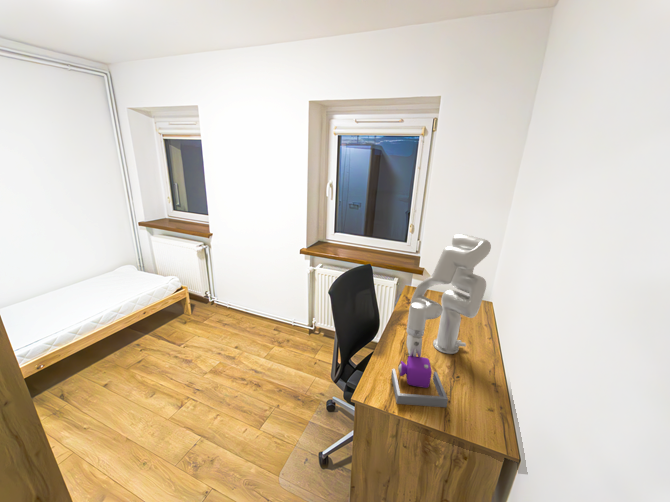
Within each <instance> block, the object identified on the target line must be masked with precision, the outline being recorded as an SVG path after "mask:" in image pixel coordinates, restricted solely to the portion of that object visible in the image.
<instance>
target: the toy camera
mask: <svg viewBox="0 0 670 502" xmlns="http://www.w3.org/2000/svg"><path fill="white" fill-rule="evenodd" d="M408 356H409V355H408ZM408 356H407V357H408ZM397 370H398V373H399V376H400V377H403V376H406V383H407V385H409V386H413V387H418V388H419V387H420V388H425V389H428V388H429V387H430V383H431V378H432V367H431V362H430V360H429V358H427V357H422V356H421V357H418V355H416V357H413V356H409V357H408V359H407V358H406V363H405V362H404V361H402V360H401V361H400V364H399V365H398V369H397Z"/></svg>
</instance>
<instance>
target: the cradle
mask: <svg viewBox="0 0 670 502" xmlns="http://www.w3.org/2000/svg"><path fill="white" fill-rule="evenodd" d="M432 374H433V376H432V381H433V384H434V386H435V389H436V392H437V394H438V395H427V394H426V395H425V394H415V393H414V394H413V393H403V392H401V391H400V390H401V389H400V386H399V381H398V377H397V372H396V369H395V368H392V369H391V382H392V386H393V393H394V397H395V402H396V404H397V405H411V406H422V407H423V406H424V407H436V408H437V407H438V408H447V407H448V406H447V405H448V400H449V398H448V395H447V393H446V391H445V389H444V386H443V384H442V381H441V379H440V377H439V375H438V372H437V371H433V373H432Z"/></svg>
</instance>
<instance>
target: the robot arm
mask: <svg viewBox="0 0 670 502" xmlns="http://www.w3.org/2000/svg"><path fill="white" fill-rule="evenodd" d="M491 249H492V245H491V242H490V241H489V240H488V239H485V238H481V237H476V236H473V235H468V234H462V233H459V234H458V233H457V234H455V235H454V236H453V237H452V240H451V245H449V246H446V247H445V248H444V249H443V250H442V251H441V255H440V256H439V259H438V261H437V264H436V266H435V269H434V270H433V273H432V275H431V276H429V277H427V278H425V279H424V280H422V281H421V282H420V283H419V284H418V285H417V287H416V288H415V289H414V293H413V294H412V297H411V300H410V305H409V310H408V316H407V324H406V333H407V336H406V349H407V358H406V360H407V359H408V357H409V356H413V357H416V356H417V357H422V349H423V348H422V347H423V337H424V335H425V328H426V321H427V320H434V319H435V320H436V319H437V318H438V319H439V317H440V319H439V326H438V331H437V336H436V338H435V339H434V340H433V341H432V342H433V343H432V345H433V348H435V349H436V350H437V351H439V352H440V353H442V354H443V353H444V354H448V355H453V354H456V353H458V352H459V349H460V348H459V347H466V346H467V343H466V342H463V341H462V340H461V339H458V337H459V331H460V327H461V326H460V325H461V322H462V318H461V317H462V316H463V317H466V318H469V319H472V318H474V317H476V316H477V315H478V312H479V311H480V308H481V305H482V302H483V298H484V295H485V292H486V290H487V289H486V288H487V281H486V279H485V277H482V276H480V275H479V274H475V273H474V270H475V267H476V266H477V265H478V264H479V263H481V262H482V261H483V260H484V259H486V257H488V255H489V254H490V252H491ZM438 285H451V286H452V287H453V288H454V289H457V290H458V291H457V290H453V289H447V290H445V291H444V292H443V293H442V294H441V295H442V296H441V301H440V302H441V304H440V303H439V302H437V301H435V300H432V299H431V298H428V297H426V296H425V294H426V292H427V290H429V288H432V287H434V286H438ZM459 290H460V291H462V292H463V293H462V292H459ZM464 293H467V294H469V295H467V294H464Z"/></svg>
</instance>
